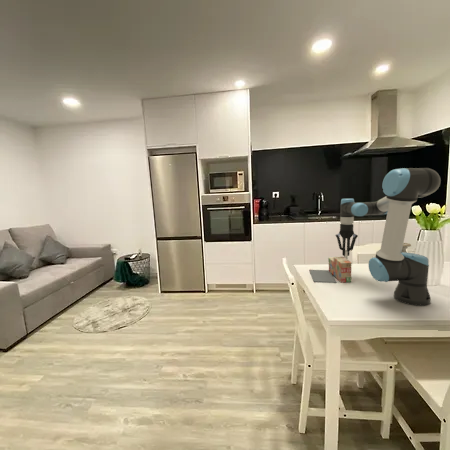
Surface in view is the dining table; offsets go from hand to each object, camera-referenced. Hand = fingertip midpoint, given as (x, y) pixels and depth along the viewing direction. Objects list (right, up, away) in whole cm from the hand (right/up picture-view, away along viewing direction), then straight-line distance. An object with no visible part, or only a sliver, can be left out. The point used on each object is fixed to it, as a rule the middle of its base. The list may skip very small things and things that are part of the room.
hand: (345, 260), depth 171 cm
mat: (-14, -11, +4) cm, 18 cm away
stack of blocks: (-3, -10, +2) cm, 11 cm away
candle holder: (+36, -10, +1) cm, 38 cm away
